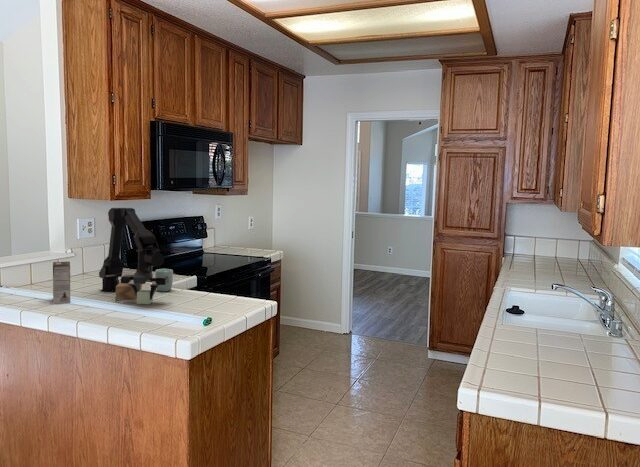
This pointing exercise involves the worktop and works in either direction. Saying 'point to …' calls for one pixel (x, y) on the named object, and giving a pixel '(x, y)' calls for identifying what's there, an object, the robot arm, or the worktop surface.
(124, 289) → the walnut block
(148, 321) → the worktop surface
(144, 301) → the green cube
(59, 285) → the coffee box
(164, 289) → the cup
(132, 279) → the robot arm
